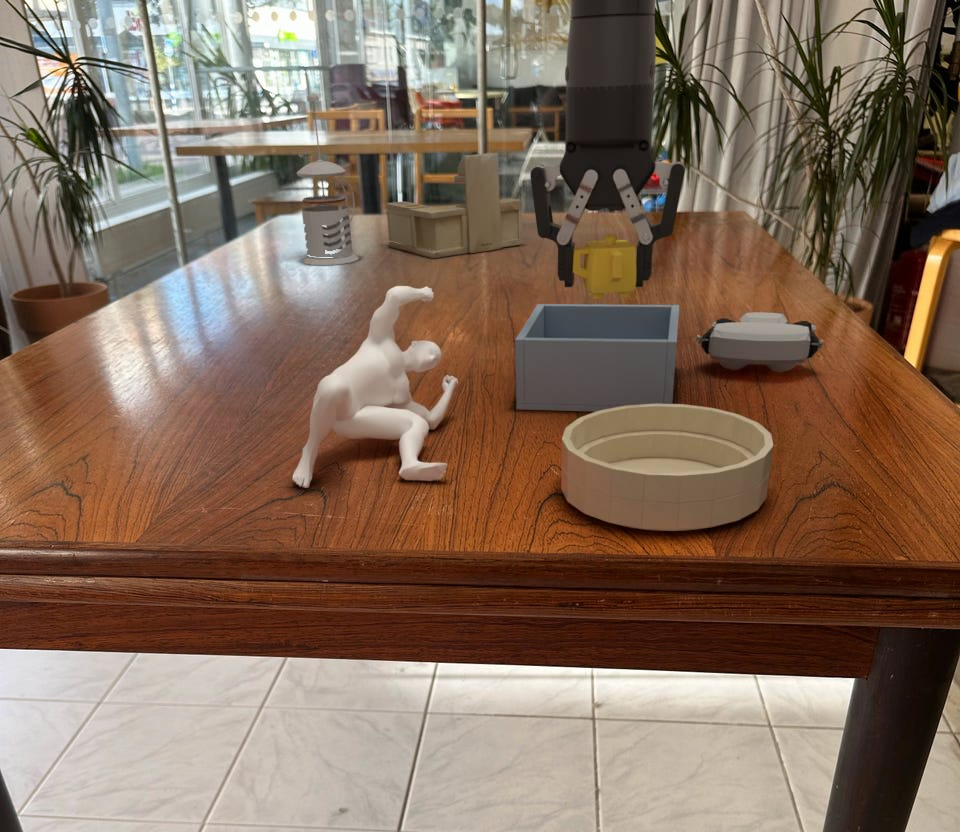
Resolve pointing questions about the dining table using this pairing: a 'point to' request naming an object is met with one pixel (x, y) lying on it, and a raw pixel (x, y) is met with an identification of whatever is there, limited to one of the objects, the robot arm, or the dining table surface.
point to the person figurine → (380, 394)
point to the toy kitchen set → (460, 216)
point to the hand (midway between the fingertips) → (603, 284)
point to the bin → (596, 356)
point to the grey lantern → (326, 215)
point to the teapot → (607, 266)
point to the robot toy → (760, 341)
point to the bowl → (666, 466)
